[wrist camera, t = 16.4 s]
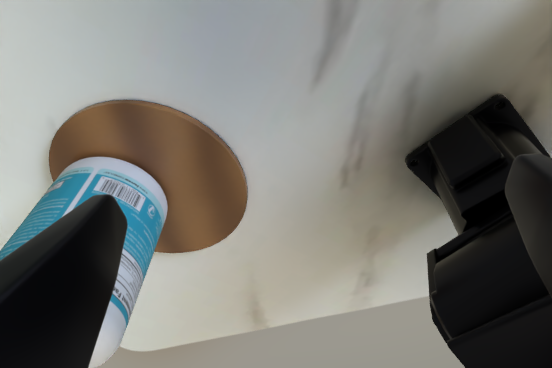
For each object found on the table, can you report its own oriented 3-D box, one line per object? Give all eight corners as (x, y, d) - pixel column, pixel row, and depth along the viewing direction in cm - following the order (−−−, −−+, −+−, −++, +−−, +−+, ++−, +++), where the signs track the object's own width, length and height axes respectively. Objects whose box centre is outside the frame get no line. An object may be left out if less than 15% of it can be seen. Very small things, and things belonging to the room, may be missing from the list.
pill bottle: (80, 225, 28) (-46, 428, 17) (48, 146, 23) (-152, 360, 13) (176, 233, 28) (108, 438, 18) (165, 155, 23) (61, 374, 13)
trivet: (221, 86, 20) (220, 90, 20) (262, 242, 29) (262, 247, 29) (9, 113, 22) (4, 117, 22) (106, 253, 31) (104, 258, 30)
